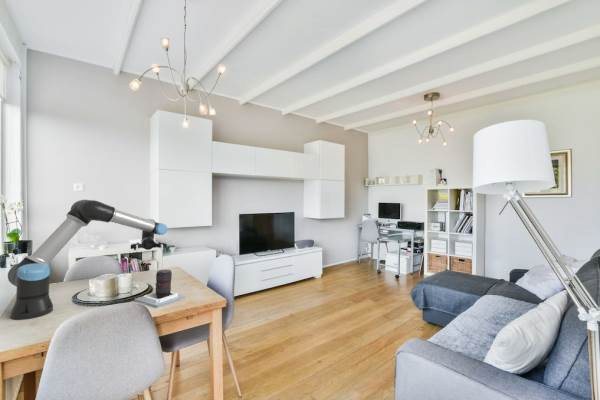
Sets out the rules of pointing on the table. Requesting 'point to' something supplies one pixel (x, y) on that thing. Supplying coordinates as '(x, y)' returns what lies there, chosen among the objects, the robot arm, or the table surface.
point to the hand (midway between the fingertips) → (149, 248)
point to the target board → (156, 302)
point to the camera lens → (163, 283)
